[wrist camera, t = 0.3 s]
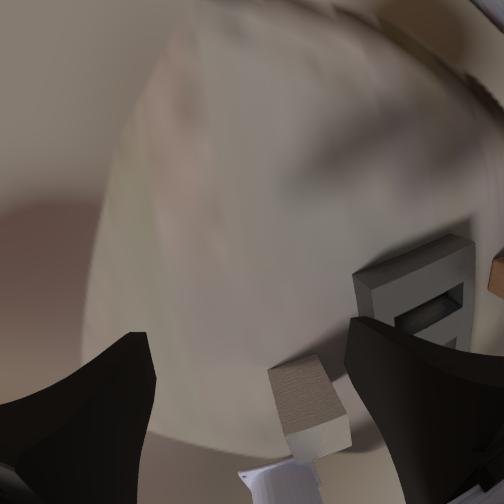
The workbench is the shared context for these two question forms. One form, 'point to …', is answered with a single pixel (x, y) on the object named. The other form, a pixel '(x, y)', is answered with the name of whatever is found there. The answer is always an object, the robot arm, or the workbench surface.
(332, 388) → the block
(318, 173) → the workbench surface
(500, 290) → the wooden stand
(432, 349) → the robot arm
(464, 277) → the socket plate
